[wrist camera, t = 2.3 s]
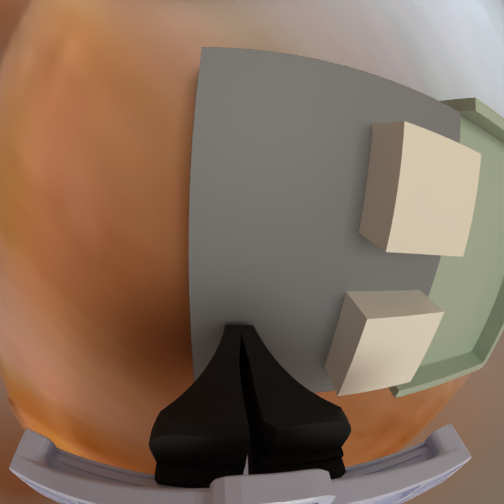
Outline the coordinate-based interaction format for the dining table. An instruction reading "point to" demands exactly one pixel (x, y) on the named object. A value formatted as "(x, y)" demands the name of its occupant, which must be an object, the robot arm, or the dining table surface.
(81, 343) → the dining table surface
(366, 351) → the tile inner
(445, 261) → the box
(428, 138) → the tile outer
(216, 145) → the gray rectangular slab
